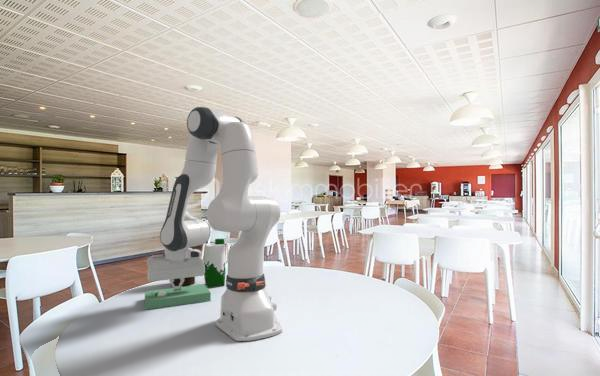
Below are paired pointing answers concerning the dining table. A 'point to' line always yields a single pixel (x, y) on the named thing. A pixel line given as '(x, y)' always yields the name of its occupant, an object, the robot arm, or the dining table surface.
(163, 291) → the golf ball
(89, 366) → the dining table surface
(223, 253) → the milk carton
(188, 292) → the putting mat
